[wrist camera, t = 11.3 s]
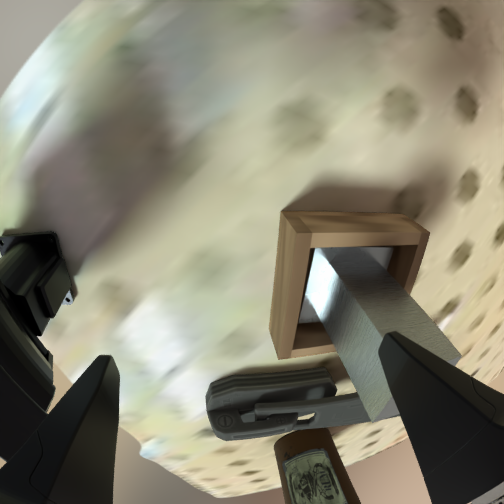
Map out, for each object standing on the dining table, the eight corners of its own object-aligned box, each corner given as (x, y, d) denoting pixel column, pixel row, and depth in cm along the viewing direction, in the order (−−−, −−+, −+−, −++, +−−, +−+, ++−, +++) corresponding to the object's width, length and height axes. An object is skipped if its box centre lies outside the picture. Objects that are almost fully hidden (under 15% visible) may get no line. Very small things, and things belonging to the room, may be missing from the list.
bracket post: (294, 314, 24) (346, 437, 14) (310, 238, 21) (397, 361, 10) (364, 308, 25) (430, 408, 15) (386, 241, 22) (483, 335, 12)
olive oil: (335, 438, 42) (378, 551, 20) (279, 457, 42) (311, 572, 20) (328, 417, 37) (381, 558, 15) (261, 439, 37) (296, 582, 15)
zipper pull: (407, 416, 30) (215, 462, 26) (387, 381, 35) (210, 417, 32) (435, 375, 25) (204, 432, 22) (408, 338, 31) (200, 377, 28)
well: (268, 328, 26) (278, 359, 22) (280, 211, 20) (296, 233, 17) (373, 315, 27) (390, 340, 24) (403, 214, 22) (430, 232, 19)
